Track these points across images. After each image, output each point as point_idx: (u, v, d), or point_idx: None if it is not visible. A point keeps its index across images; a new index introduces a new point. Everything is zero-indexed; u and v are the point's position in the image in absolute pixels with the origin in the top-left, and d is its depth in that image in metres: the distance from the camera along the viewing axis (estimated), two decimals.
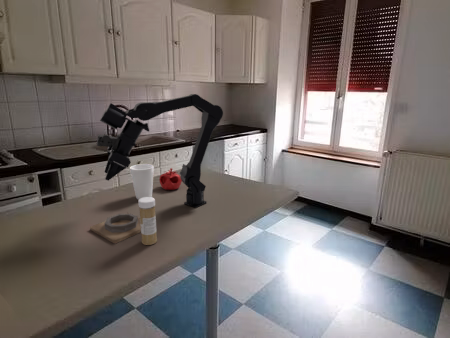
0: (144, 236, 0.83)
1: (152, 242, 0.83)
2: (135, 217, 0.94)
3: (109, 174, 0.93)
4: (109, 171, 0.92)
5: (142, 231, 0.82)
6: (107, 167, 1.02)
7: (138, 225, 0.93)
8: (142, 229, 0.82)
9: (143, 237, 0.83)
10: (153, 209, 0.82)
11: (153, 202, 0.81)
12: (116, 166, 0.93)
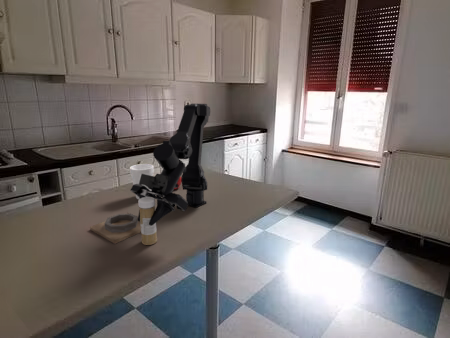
0: (144, 236, 0.83)
1: (152, 242, 0.83)
2: (135, 217, 0.94)
3: (155, 218, 0.81)
4: (156, 214, 0.81)
5: (142, 231, 0.82)
6: None
7: (138, 225, 0.93)
8: (142, 229, 0.82)
9: (143, 237, 0.83)
10: (153, 209, 0.82)
11: (153, 202, 0.81)
12: (163, 208, 0.83)
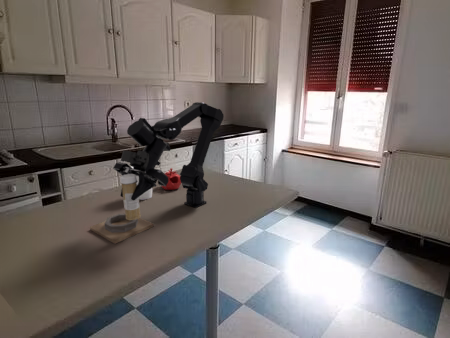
0: (127, 211, 0.86)
1: (135, 217, 0.86)
2: None
3: (137, 193, 0.85)
4: (138, 189, 0.84)
5: (125, 207, 0.86)
6: None
7: (138, 225, 0.93)
8: (125, 205, 0.85)
9: (126, 213, 0.86)
10: (135, 185, 0.85)
11: (134, 178, 0.84)
12: (145, 184, 0.86)
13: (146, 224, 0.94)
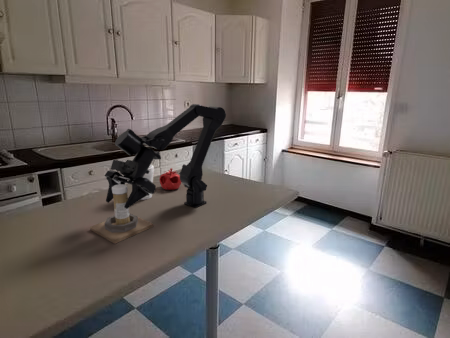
0: (117, 220, 0.90)
1: None
2: (135, 217, 0.94)
3: (130, 201, 0.88)
4: (131, 198, 0.88)
5: (116, 215, 0.90)
6: (109, 196, 0.93)
7: (138, 225, 0.93)
8: (116, 213, 0.90)
9: (117, 221, 0.91)
10: (125, 195, 0.89)
11: (125, 189, 0.89)
12: (138, 193, 0.89)
13: (146, 224, 0.94)
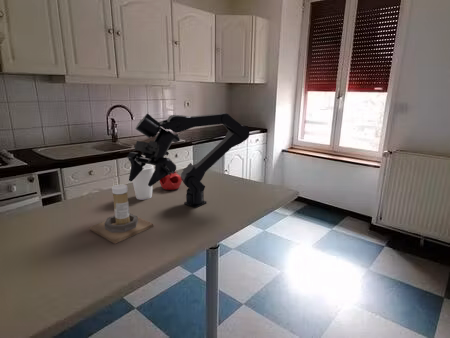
0: (117, 220, 0.90)
1: None
2: (135, 217, 0.94)
3: (153, 180, 0.94)
4: (154, 177, 0.94)
5: (116, 215, 0.90)
6: (132, 175, 0.99)
7: (138, 225, 0.93)
8: (116, 213, 0.90)
9: (117, 221, 0.91)
10: (125, 195, 0.90)
11: (125, 189, 0.89)
12: (160, 172, 0.96)
13: (146, 224, 0.94)
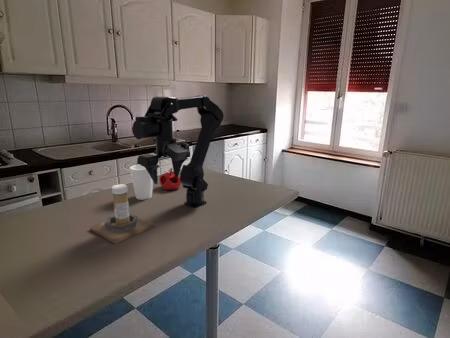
0: (117, 220, 0.90)
1: None
2: (135, 217, 0.94)
3: None
4: None
5: (116, 215, 0.90)
6: None
7: (138, 225, 0.93)
8: (115, 213, 0.90)
9: (117, 221, 0.91)
10: (125, 195, 0.90)
11: (125, 189, 0.89)
12: None
13: (146, 224, 0.94)
